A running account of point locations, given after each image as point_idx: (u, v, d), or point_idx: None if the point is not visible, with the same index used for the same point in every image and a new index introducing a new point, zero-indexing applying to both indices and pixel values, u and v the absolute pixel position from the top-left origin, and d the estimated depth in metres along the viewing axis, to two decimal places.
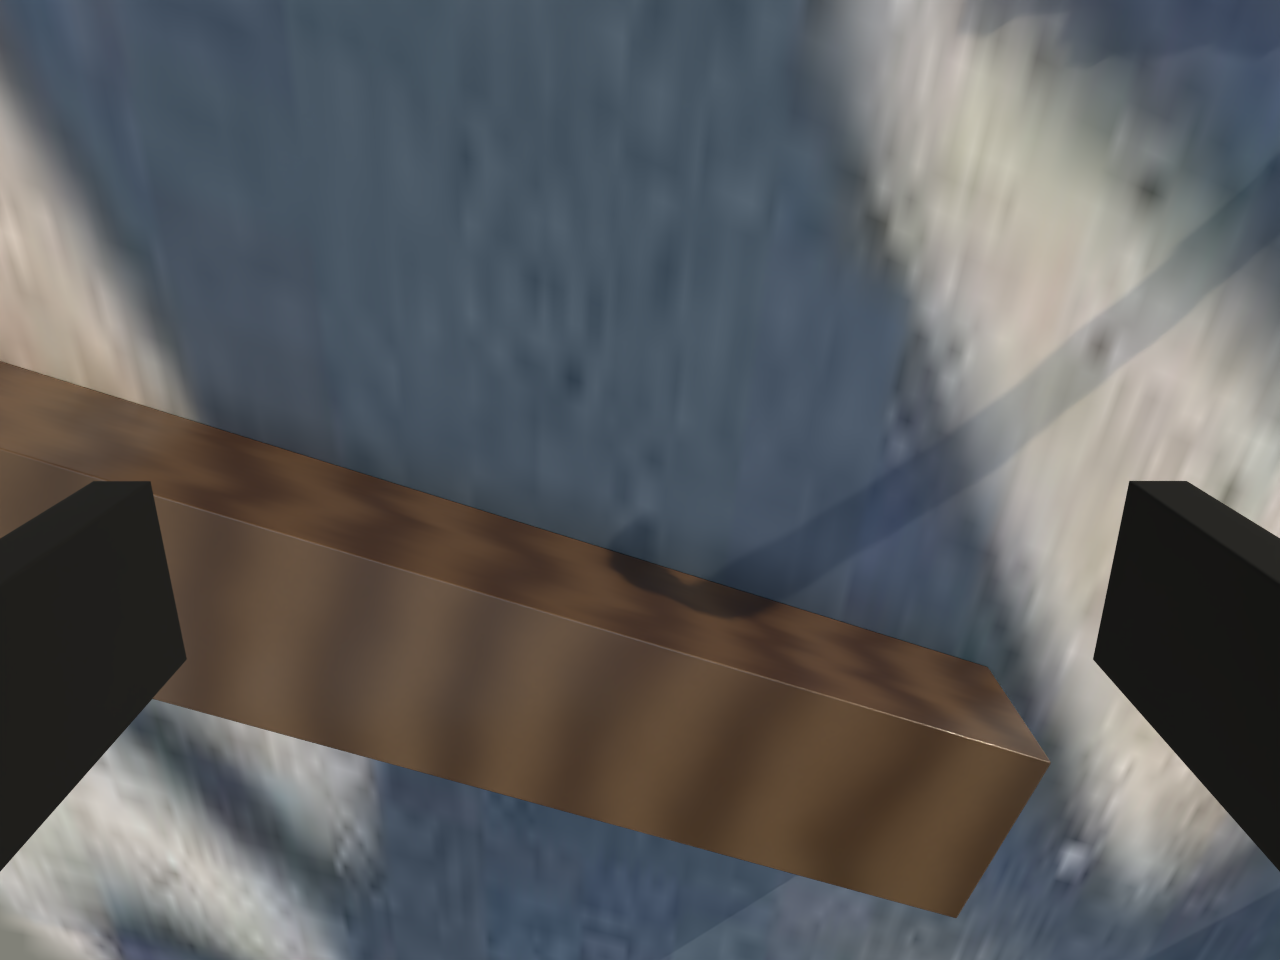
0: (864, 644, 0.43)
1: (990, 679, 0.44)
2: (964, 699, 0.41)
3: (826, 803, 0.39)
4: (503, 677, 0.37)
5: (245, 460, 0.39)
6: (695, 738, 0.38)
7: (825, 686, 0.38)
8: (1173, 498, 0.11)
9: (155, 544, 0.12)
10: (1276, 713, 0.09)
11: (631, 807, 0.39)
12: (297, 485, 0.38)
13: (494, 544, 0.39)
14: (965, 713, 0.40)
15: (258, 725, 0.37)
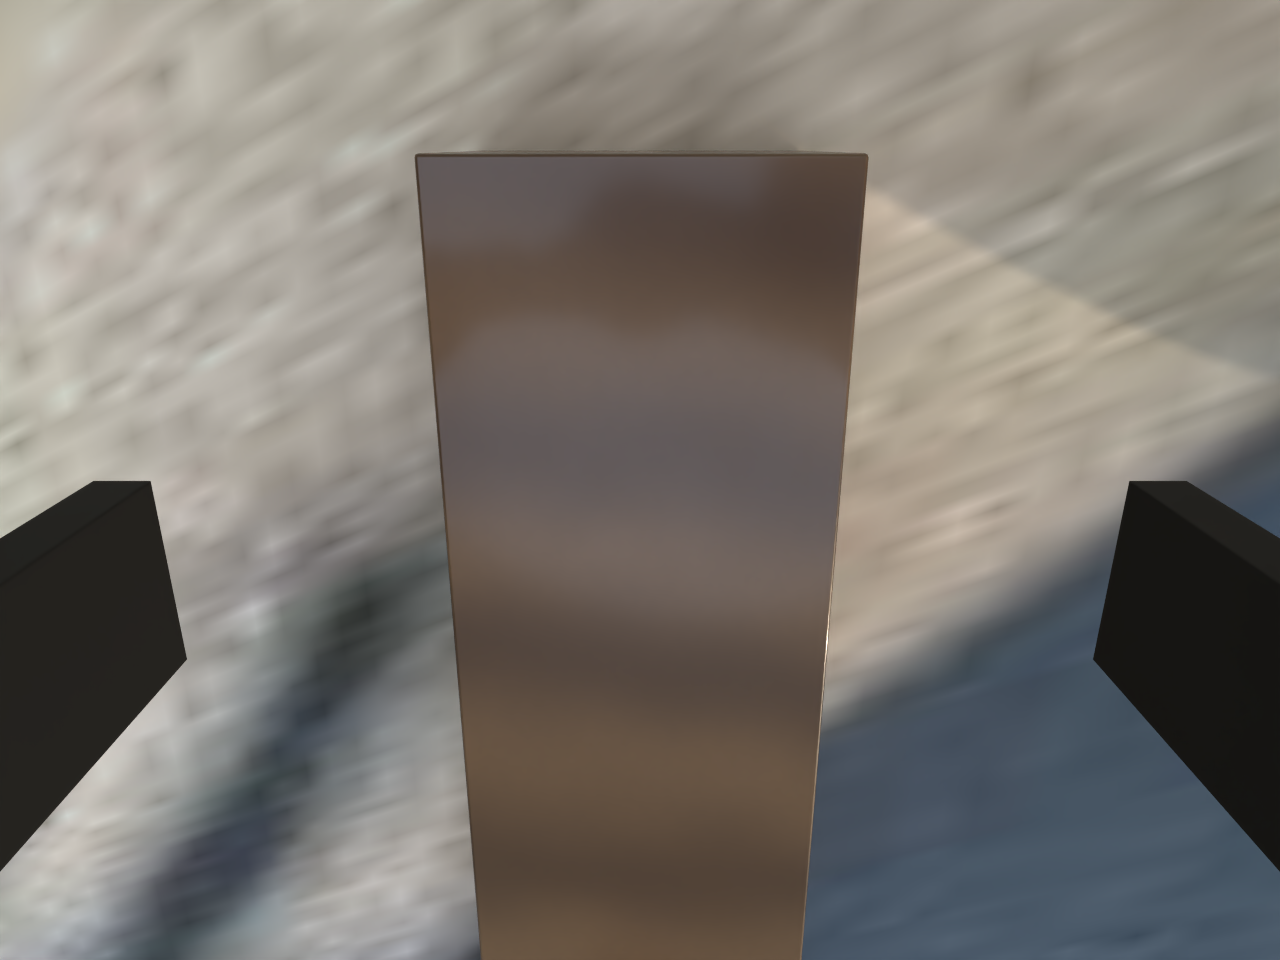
0: None
1: None
2: None
3: None
4: None
5: None
6: None
7: None
8: (1172, 498, 0.11)
9: (155, 544, 0.12)
10: (1276, 713, 0.09)
11: None
12: None
13: None
14: None
15: None
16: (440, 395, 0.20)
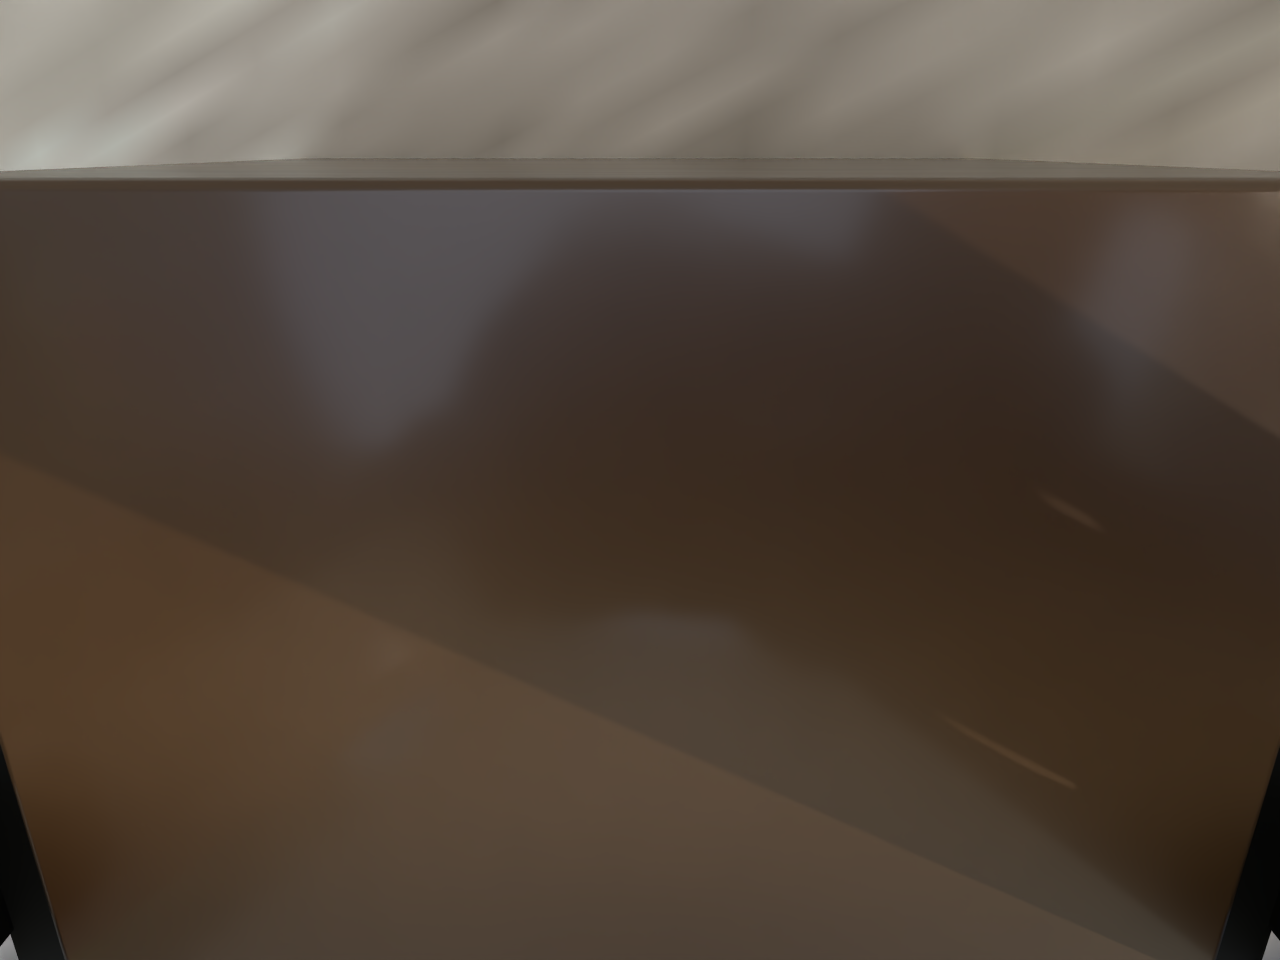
0: None
1: None
2: None
3: None
4: None
5: None
6: None
7: None
8: None
9: None
10: None
11: None
12: None
13: None
14: None
15: None
16: (55, 876, 0.07)
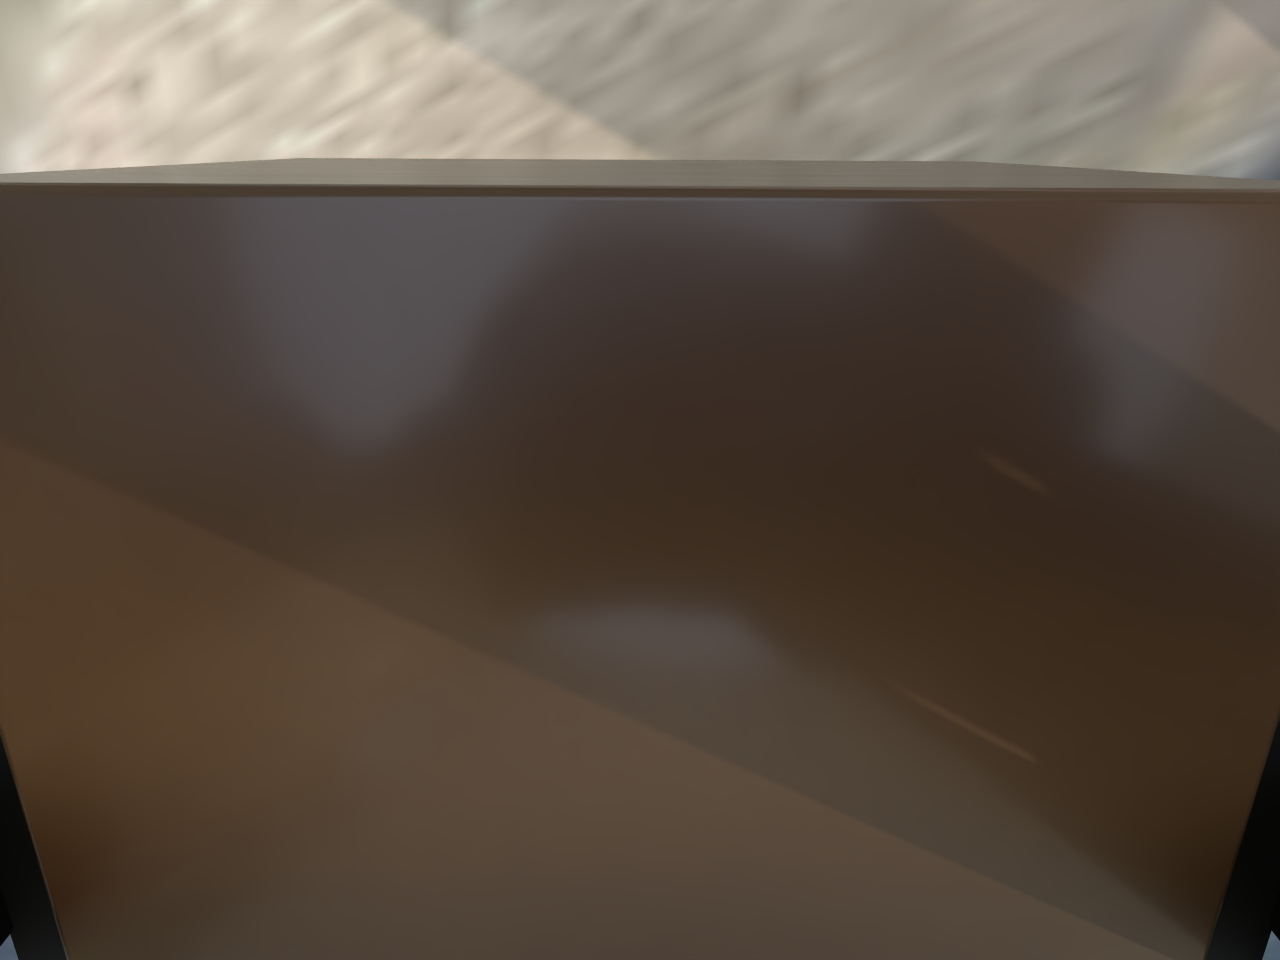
0: None
1: None
2: None
3: None
4: None
5: None
6: None
7: None
8: None
9: None
10: None
11: None
12: None
13: None
14: None
15: None
16: (56, 874, 0.07)
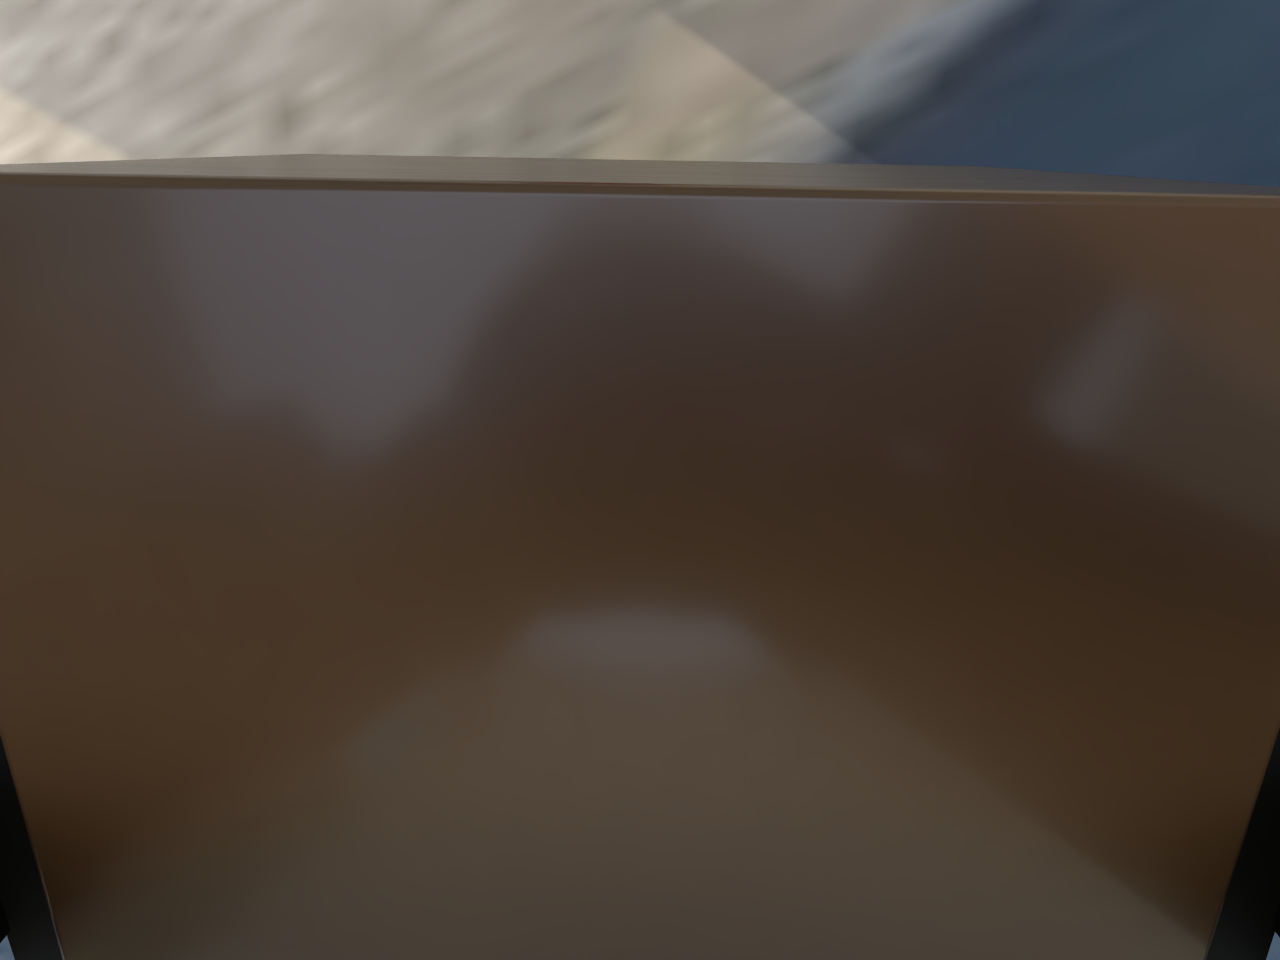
0: None
1: None
2: None
3: None
4: None
5: None
6: None
7: None
8: None
9: None
10: None
11: None
12: None
13: None
14: None
15: None
16: (55, 869, 0.07)
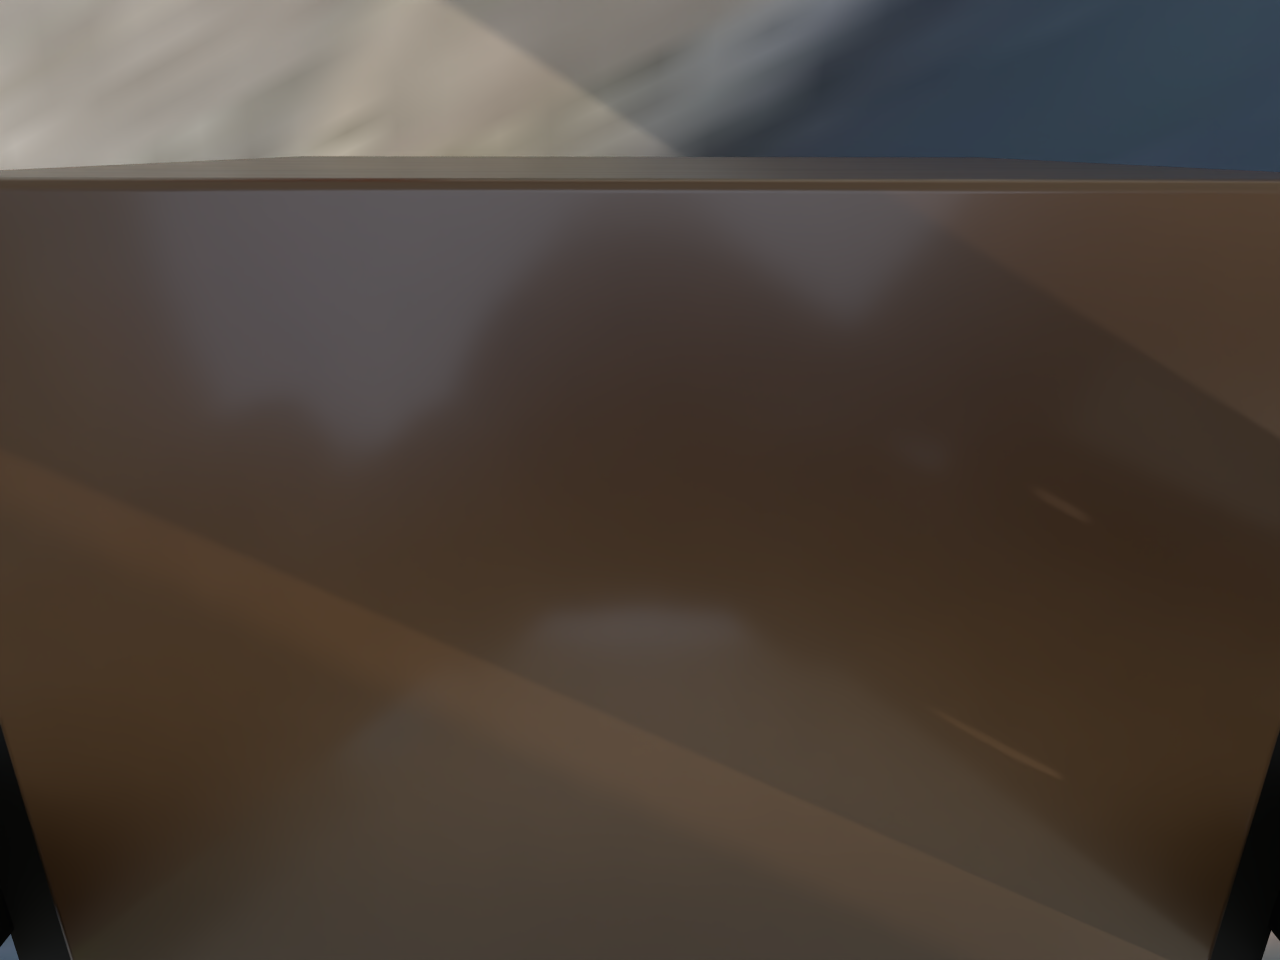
0: None
1: None
2: None
3: None
4: None
5: None
6: None
7: None
8: None
9: None
10: None
11: None
12: None
13: None
14: None
15: None
16: (60, 870, 0.07)
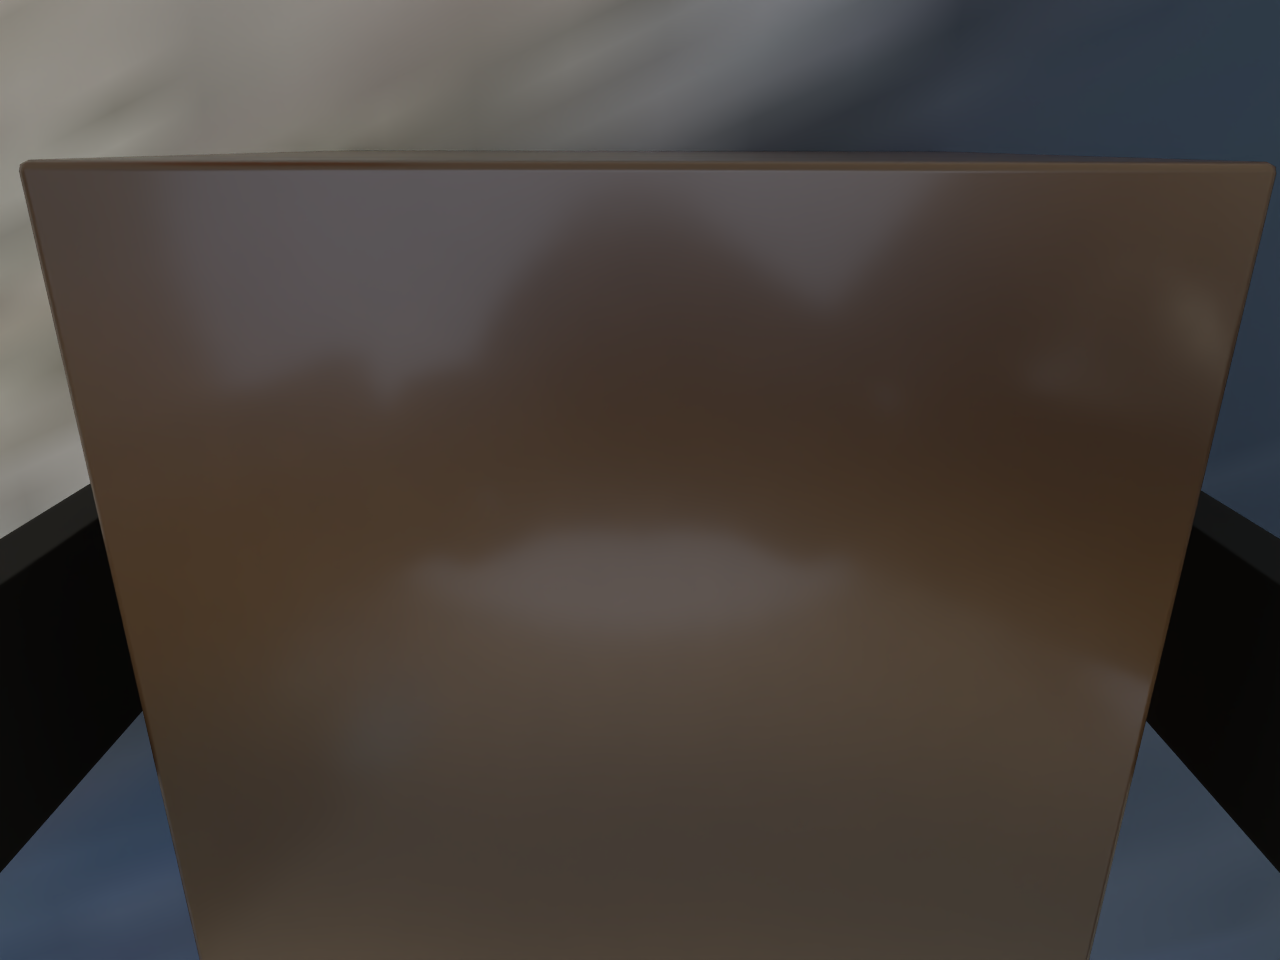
0: None
1: None
2: None
3: None
4: None
5: None
6: None
7: None
8: None
9: None
10: (1274, 713, 0.09)
11: None
12: None
13: None
14: None
15: None
16: (163, 741, 0.08)
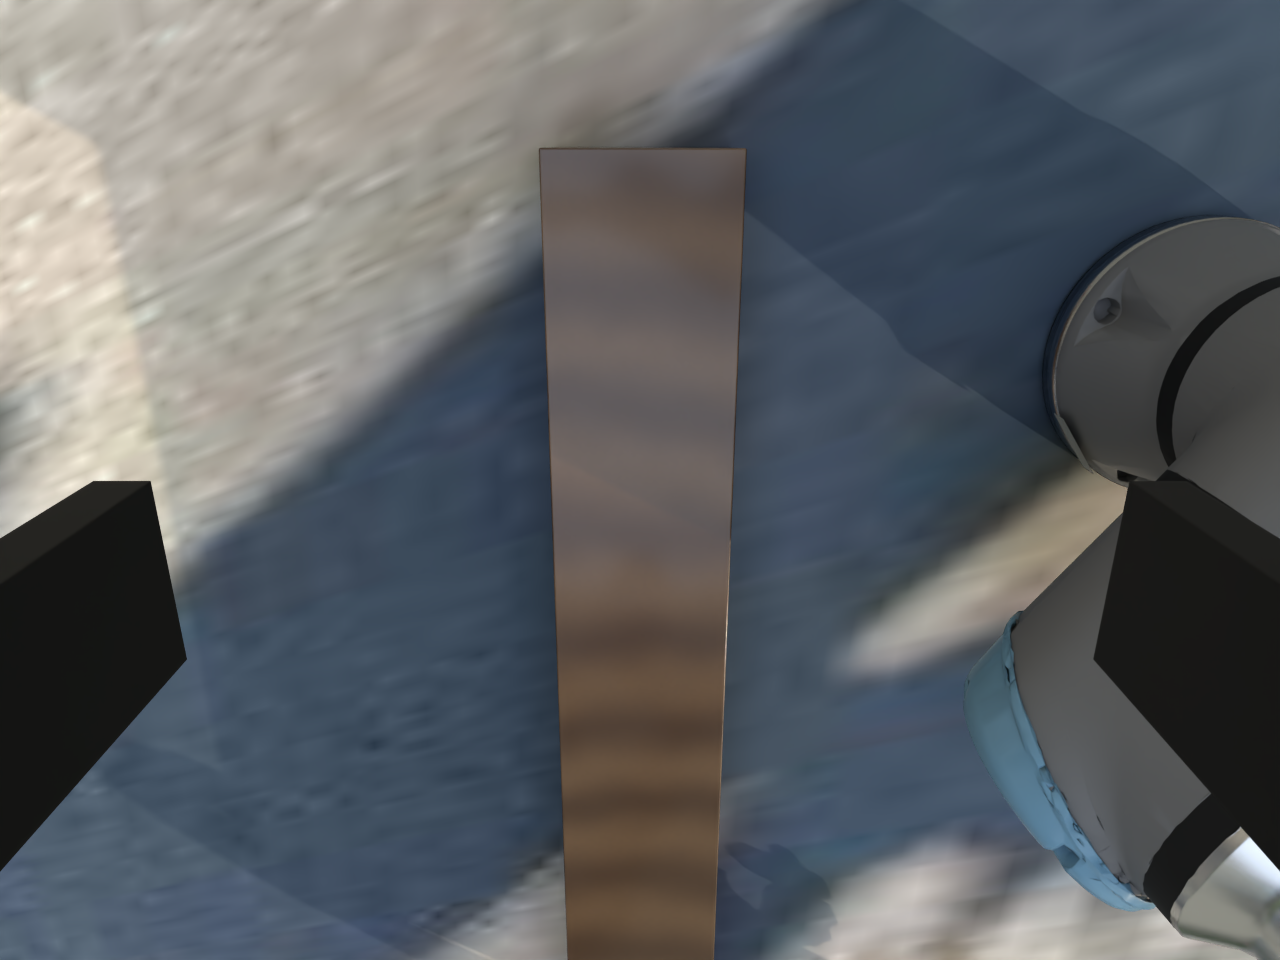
0: None
1: None
2: None
3: None
4: (660, 819, 0.52)
5: None
6: (654, 929, 0.55)
7: None
8: (1173, 498, 0.11)
9: (155, 544, 0.12)
10: (1276, 713, 0.09)
11: (585, 912, 0.55)
12: None
13: None
14: None
15: (560, 687, 0.49)
16: (546, 264, 0.41)
